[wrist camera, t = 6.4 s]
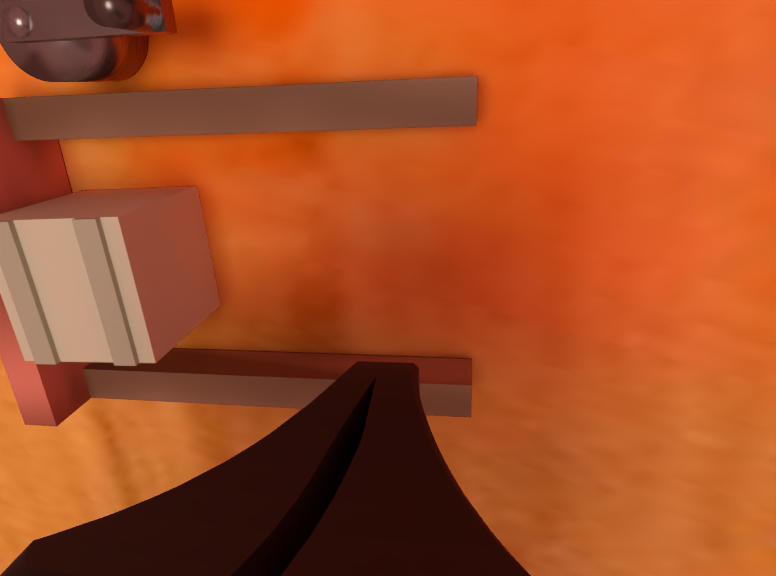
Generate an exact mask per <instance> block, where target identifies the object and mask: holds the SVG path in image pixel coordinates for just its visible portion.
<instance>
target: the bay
mask: <svg viewBox="0 0 776 576" xmlns="http://www.w3.org/2000/svg"><path fill="white" fill-rule="evenodd" d="M476 124H477V76H464V77H443V78H422V79H401V80H380V81H358V82H337V83H316V84H295V85H274V86H253V87H232V88H211V89H189V90H168V91H147V92H126V93H105V94H84V95H63V96H41V97H20V98H0V214H2V213H5V212H9V211H12V210H16V209H19V208H23V207H26V206H30V205H33V204H37V203H40V202H44V201H47V200H51V199H54V198H58V197H61V196H65V195H68V194H71V193H72V192H71V188H70V184H69V180H68V177H67V173H66V169H65V165H64V162H63V158H62V154H61V150H60V147H59V143H58V139H82V138H112V137H143V136H173V135H203V134H234V133H264V132H294V131H325V130H355V129H386V128H416V127H446V126H476ZM0 356H1V359H2V362H3V364H4V367H5V370H6V373H7V375H8V378H9V381H10V384H11V387H12V389H13V392H14V395H15V398H16V400H17V403H18V406H19V409H20V412H21V414H22V417H23V420H24V423H25V424H26V425H42V426H58V425H59V424H60V423H61V422H63V421H64V420H65V419H66V418H67V417H69V416H70V415H71V414H72V413H73V412H74V411H76V410H77V409H78V408H79V407H80V406H82V405H83V404H84V403H85V402H86V401H88V400H89V399H90V398H108V399H127V400H146V401H166V402H185V403H204V404H223V405H243V406H262V407H281V408H300V409H303V408H304V407H306V406H307V405H308V404H309V403H310V402H312V401H313V400H314V399H315V398H316V397H317V396H319V395H320V394H321V393H322V392H323V391H324V390H326V389H327V388H328V387H329V386H330V385H331V384H332V383H333V382H335V381H336V380H337V379H338V378H339V377H340V376H341V375H342V374H343V373H345V372H346V371H347V370H348V369H349V368H350V367H351V366H352V365H354V364H355V363H356V362H357V361H368V362H401V363H414V364H415V365H416V366H417V367H418V368H419V383H420V399H421V403H422V406H423V409H424V413H425V415H435V416H454V417H471V397H472V359H463V358H434V357H405V356H377V355H348V354H319V353H291V352H262V351H233V350H205V349H176V348H172V349H171V350H170V351H169V352H168V353H167V354H165V355H164V356H163V357H162V358H161V359H160V360H159V361H158V362H157V363H139V364H138V365H137V366H114V363H113V362H59V363H58V364H56V365H55V364H35V361H25V360H24V357H23V354H22V351H21V349H20V346H19V343H18V340H17V338H16V335H15V332H14V330H13V327H12V324H11V321H10V319H9V316H8V313H7V310H6V308H5V305H4V302H3V299H2V297H1V294H0Z"/></svg>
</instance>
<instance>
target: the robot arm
mask: <svg viewBox="0 0 776 576" xmlns="http://www.w3.org/2000/svg"><path fill="white" fill-rule="evenodd" d="M0 576H531V575H530V574H529V573H528V572H527V571H526V570H525V569H524V568H523V567H522V566H521V565H520V564H519V563H518V562H517V561H516V560H515V558H514V557H513V556H512V555H511V554H510V553H509V552H508V551H507V549H506V548H505V547H504V546H503V545H502V544H501V542H500V541H499V540H498V539H497V538H496V536H495V535H494V534H493V533H492V532H491V531H490V529H489V528H488V526H487V525H486V524H485V522H484V521H483V520H482V518H481V517H480V516H479V514H478V513H477V511H476V510H475V509H474V507H473V506H472V505H471V503H470V502H469V500H468V499H467V498H466V496H465V495H464V493H463V492H462V490H461V488H460V487H459V485H458V483H457V482H456V480H455V479H454V477H453V475H452V473H451V472H450V470H449V468H448V466H447V464H446V463H445V461H444V459H443V457H442V455H441V453H440V450H439V448H438V446H437V444H436V442H435V439H434V437H433V435H432V432H431V430H430V427H429V424H428V422H427V419H426V416H425V413H424V409H423V406H422V403H421V399H420V383H419V368H418V367H417V366H416V365H415V364H414V363H401V362H368V361H357V362H356V363H355V364H354V365H352V366H351V367H350V368H349V369H348V370H347V371H346V372H345V373H343V374H342V375H341V376H340V377H339V378H338V379H337V380H336V381H335V382H333V383H332V384H331V385H330V386H329V387H328V388H327V389H326V390H324V391H323V392H322V393H321V394H320V395H319V396H317V397H316V398H315V399H314V400H313V401H312V402H310V403H309V404H308V405H307V406H306V407H304V408H303V409H302V410H300V411H299V412H298V413H297V414H295V415H294V416H293V417H291V418H290V419H289V420H287V421H286V422H285V423H283V424H282V425H281V426H280V427H278V428H277V429H276V430H274V431H273V432H271V433H270V434H269V435H267V436H266V437H264V438H263V439H261V440H260V441H258V442H257V443H255V444H254V445H252V446H250V447H249V448H247V449H246V450H244V451H242V452H241V453H239V454H237V455H236V456H234V457H233V458H231V459H229V460H227V461H226V462H224V463H222V464H220V465H218V466H216V467H214V468H212V469H210V470H208V471H207V472H205V473H203V474H201V475H199V476H197V477H195V478H193V479H191V480H189V481H187V482H185V483H183V484H182V485H179V486H177V487H175V488H173V489H171V490H169V491H166V492H164V493H162V494H160V495H157V496H155V497H153V498H151V499H148V500H146V501H143V502H141V503H138V504H136V505H134V506H131V507H129V508H126V509H124V510H121V511H119V512H116V513H113V514H111V515H108V516H105V517H103V518H100V519H97V520H94V521H91V522H88V523H85V524H82V525H79V526H76V527H73V528H70V529H67V530H65V531H62V532H59V533H56V534H53V535H50V536H47V537H43V538H40V539H37V540H34V541H33V542H32V543H31V544H30V545H29V546H28V547H27V548H26V549H25V550H24V551H23V552H22V553H21V554H20V555H19V556H18V557H17V558H16V559H15V560H14V562H13V563H12V564H11V565H10V566H9V567H8V568H7V569H6V570H5V571H4V572H3V573H2V574H1V575H0Z"/></svg>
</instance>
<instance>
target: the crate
mask: <svg viewBox="0 0 776 576" xmlns="http://www.w3.org/2000/svg"><path fill="white" fill-rule="evenodd" d="M0 294H1V297H2V299H3V302H4V305H5V308H6V310H7V313H8V316H9V319H10V321H11V324H12V327H13V330H14V332H15V335H16V338H17V340H18V343H19V346H20V349H21V351H22V354H23V357H24V360H25V361H35V364H55V365H56V364H58V363H59V362H113V363H114V366H137V365H138V364H139V363H157V362H158V361H159V360H160V359H161V358H162V357H163V356H164V355H165V354H167V353H168V352H169V351H170V350H171V349H172V348H173V347H174V346H175V345H177V344H178V343H179V342H180V341H181V340H182V339H183V338H184V337H185V336H187V335H188V334H189V333H190V332H191V331H192V330H193V329H194V328H195V327H196V326H198V325H199V324H200V323H201V322H202V321H203V320H204V319H205V318H206V317H208V316H209V315H210V314H211V313H212V312H213V311H214V310H215V309H216V308H218V307H219V306H220V305H221V303H220V298H219V293H218V288H217V283H216V278H215V273H214V268H213V263H212V258H211V253H210V248H209V243H208V238H207V233H206V228H205V223H204V218H203V213H202V208H201V203H200V198H199V193H198V188H197V186H178V187H155V188H131V189H108V190H84V191H78V192H75V193H71V194H68V195H65V196H61V197H58V198H54V199H51V200H47V201H44V202H40V203H37V204H33V205H30V206H26V207H23V208H19V209H16V210H12V211H9V212H5V213H2V214H0Z"/></svg>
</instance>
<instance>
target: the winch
mask: <svg viewBox="0 0 776 576" xmlns="http://www.w3.org/2000/svg"><path fill="white" fill-rule="evenodd" d="M175 33H177V29H176V23H175V17H174V11H173V6H172V0H0V43H1V45H2V47H3V49H4V50H5V52H6V53H7V55H8V56H9V57H10V58H11V60H12V61H13V62H14V63H15V64H16V65H17V66H18V67H19V68H20V69H22V70H23V71H24V72H26V73H27V74H29V75H31V76H33V77H35V78H37V79H40V80H43V81H48V82H102V81H122V80H125V79H127V78H129V77H131V76H132V75H134V74H135V73H136V72H137V71H138V70H139V69H140V67H141V66H142V64H143V62H144V60H145V57H146V53H147V46H148V36H147V35H160V34H175Z"/></svg>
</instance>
